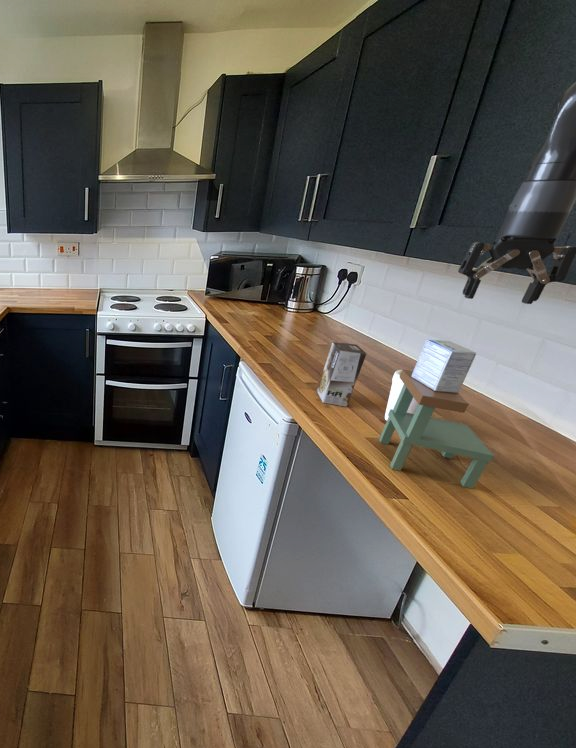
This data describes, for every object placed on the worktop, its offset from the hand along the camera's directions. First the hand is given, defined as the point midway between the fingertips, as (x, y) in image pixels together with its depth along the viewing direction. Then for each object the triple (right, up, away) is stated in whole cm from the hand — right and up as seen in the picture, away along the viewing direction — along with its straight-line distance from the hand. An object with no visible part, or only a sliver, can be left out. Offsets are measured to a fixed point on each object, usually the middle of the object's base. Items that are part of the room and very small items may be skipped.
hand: (496, 300), depth 78 cm
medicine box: (-7, -17, +6) cm, 19 cm away
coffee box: (-5, -21, +40) cm, 46 cm away
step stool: (-4, -34, +11) cm, 36 cm away
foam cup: (+5, -26, +29) cm, 39 cm away
